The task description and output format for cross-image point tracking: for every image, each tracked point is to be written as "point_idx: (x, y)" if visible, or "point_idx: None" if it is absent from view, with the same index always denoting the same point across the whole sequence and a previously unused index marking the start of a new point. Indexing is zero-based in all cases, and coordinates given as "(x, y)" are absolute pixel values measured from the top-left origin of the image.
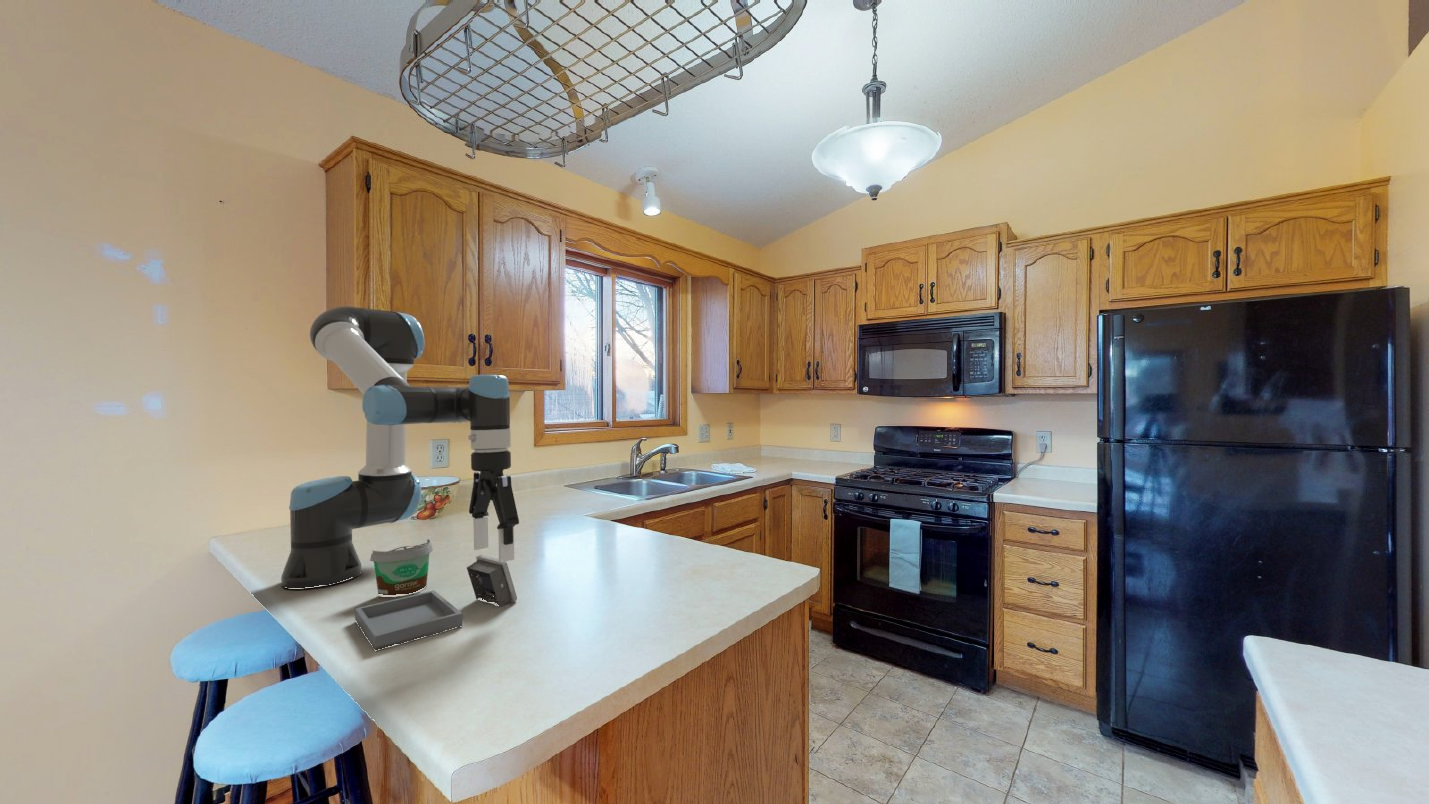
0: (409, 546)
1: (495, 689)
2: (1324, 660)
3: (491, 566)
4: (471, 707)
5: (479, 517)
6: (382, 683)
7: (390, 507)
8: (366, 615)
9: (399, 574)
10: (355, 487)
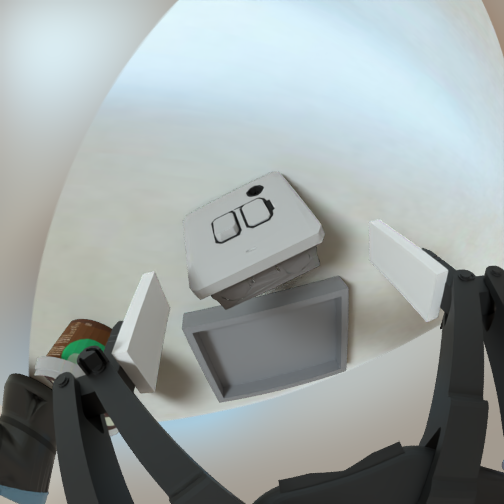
0: None
1: (481, 251)
2: None
3: (288, 260)
4: (483, 269)
5: (128, 378)
6: (411, 336)
7: None
8: (221, 385)
9: None
10: None
